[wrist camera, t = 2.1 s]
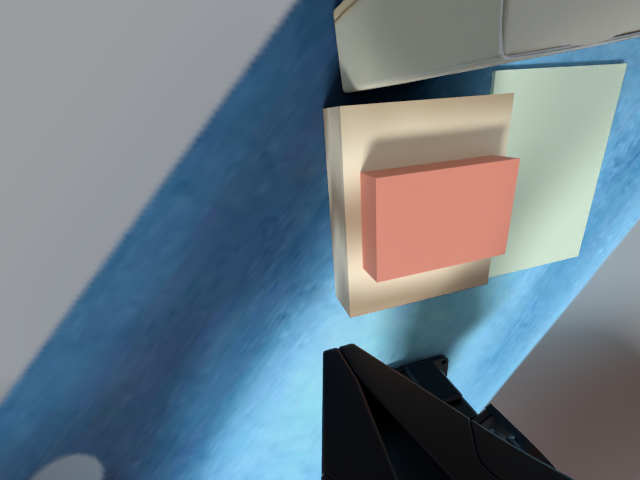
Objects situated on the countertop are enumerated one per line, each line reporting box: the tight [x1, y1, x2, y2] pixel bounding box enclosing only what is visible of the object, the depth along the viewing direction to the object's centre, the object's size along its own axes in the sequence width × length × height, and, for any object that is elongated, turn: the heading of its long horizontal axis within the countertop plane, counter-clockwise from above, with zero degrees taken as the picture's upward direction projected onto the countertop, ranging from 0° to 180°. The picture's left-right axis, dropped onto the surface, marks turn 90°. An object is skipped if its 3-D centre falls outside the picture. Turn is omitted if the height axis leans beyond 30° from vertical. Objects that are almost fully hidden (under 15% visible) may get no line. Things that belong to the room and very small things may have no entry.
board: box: [323, 93, 514, 318], centre depth 21 cm, size 13×11×3 cm
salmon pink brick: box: [360, 155, 520, 283], centre depth 19 cm, size 9×6×2 cm, turn 95°
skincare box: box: [334, 0, 640, 93], centre depth 13 cm, size 6×4×12 cm
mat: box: [488, 63, 627, 278], centre depth 25 cm, size 16×12×1 cm
